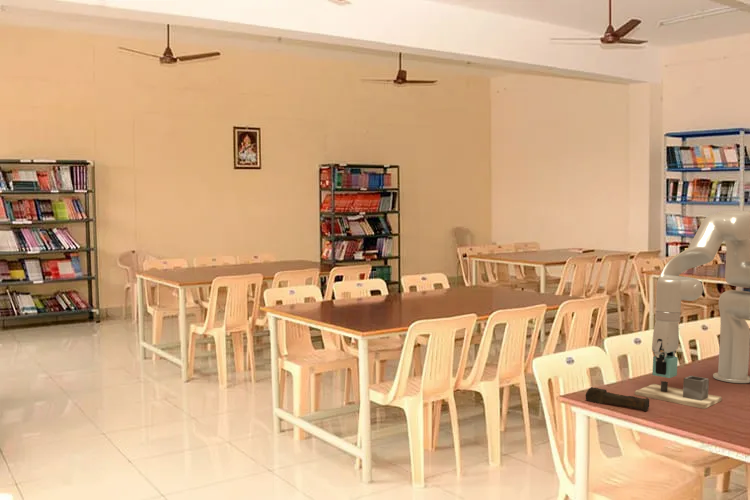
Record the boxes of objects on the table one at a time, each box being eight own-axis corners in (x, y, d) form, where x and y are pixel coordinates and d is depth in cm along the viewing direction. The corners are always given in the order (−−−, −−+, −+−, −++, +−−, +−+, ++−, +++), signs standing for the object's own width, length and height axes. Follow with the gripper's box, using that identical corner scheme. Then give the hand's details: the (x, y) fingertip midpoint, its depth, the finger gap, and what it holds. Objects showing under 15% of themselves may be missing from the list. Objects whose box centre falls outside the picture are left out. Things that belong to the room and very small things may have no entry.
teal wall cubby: (659, 372, 246) (660, 354, 245) (676, 375, 242) (677, 357, 241) (652, 375, 242) (653, 356, 241) (669, 378, 238) (670, 359, 237)
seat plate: (653, 387, 252) (654, 366, 251) (721, 400, 236) (722, 378, 236) (634, 394, 242) (635, 372, 241) (704, 408, 226) (705, 385, 226)
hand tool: (650, 410, 225) (651, 395, 224) (646, 413, 221) (646, 397, 221) (588, 399, 236) (589, 384, 236) (584, 401, 233) (584, 387, 232)
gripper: (667, 312, 249) (664, 366, 250) (644, 317, 237) (641, 374, 238) (690, 315, 244) (687, 370, 245) (667, 320, 232) (665, 378, 233)
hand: (664, 371), depth 242 cm, fingers closed on teal wall cubby, 5 cm apart
